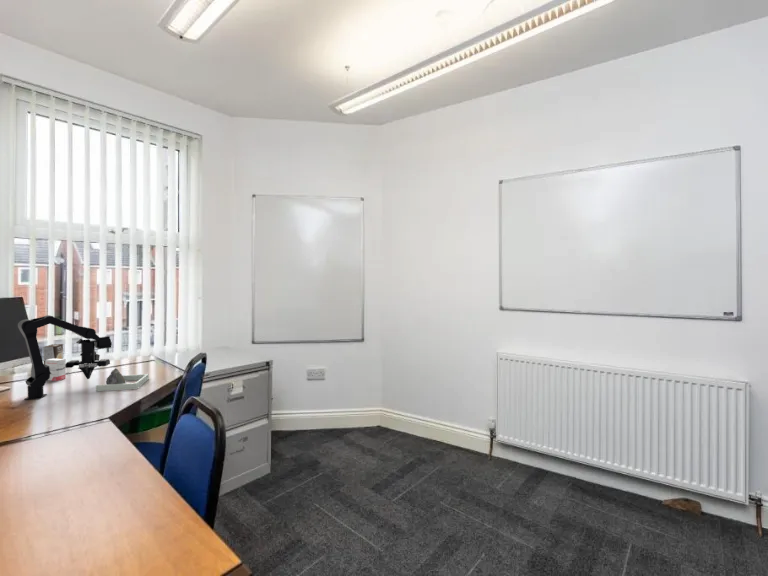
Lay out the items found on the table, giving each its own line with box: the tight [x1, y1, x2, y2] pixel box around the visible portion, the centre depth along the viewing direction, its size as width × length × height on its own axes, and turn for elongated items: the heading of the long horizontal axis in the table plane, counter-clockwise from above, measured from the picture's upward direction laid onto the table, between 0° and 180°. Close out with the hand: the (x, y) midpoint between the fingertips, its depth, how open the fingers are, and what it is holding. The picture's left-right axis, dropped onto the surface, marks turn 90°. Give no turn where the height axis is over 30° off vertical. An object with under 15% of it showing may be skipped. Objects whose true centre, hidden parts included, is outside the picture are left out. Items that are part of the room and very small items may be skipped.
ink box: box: [45, 358, 67, 382], centre depth 218 cm, size 9×5×12 cm, turn 84°
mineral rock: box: [105, 368, 126, 385], centre depth 209 cm, size 13×11×10 cm
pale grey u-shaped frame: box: [95, 373, 150, 392], centre depth 210 cm, size 19×19×3 cm
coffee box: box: [43, 343, 64, 365], centre depth 237 cm, size 9×6×16 cm
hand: (88, 378), depth 205 cm, fingers closed
